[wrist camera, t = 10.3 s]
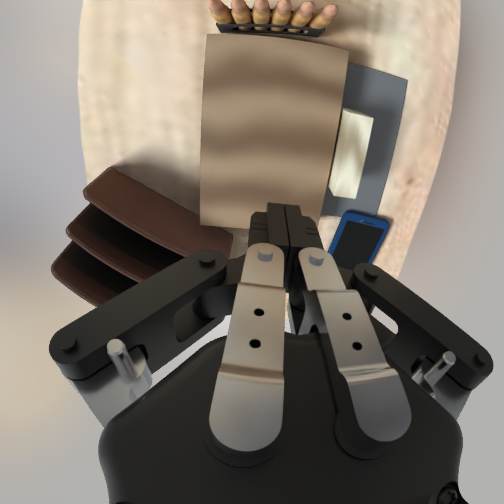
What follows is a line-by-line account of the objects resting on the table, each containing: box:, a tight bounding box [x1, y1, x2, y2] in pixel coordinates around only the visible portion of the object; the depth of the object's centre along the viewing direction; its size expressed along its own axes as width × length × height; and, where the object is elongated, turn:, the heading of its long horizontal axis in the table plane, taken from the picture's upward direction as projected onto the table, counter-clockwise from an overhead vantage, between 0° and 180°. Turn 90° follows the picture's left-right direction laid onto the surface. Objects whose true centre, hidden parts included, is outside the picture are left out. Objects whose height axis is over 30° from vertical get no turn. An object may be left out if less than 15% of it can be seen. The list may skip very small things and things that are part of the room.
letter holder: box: [51, 167, 233, 307], centre depth 33 cm, size 10×20×14 cm, turn 57°
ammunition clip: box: [208, 0, 338, 37], centre depth 19 cm, size 11×2×12 cm, turn 89°
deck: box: [200, 34, 349, 229], centre depth 29 cm, size 22×14×4 cm, turn 175°
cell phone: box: [328, 211, 389, 271], centre depth 40 cm, size 7×14×1 cm, turn 169°
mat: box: [321, 63, 407, 217], centre depth 31 cm, size 20×9×1 cm, turn 175°
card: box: [327, 107, 374, 199], centre depth 29 cm, size 9×6×2 cm
